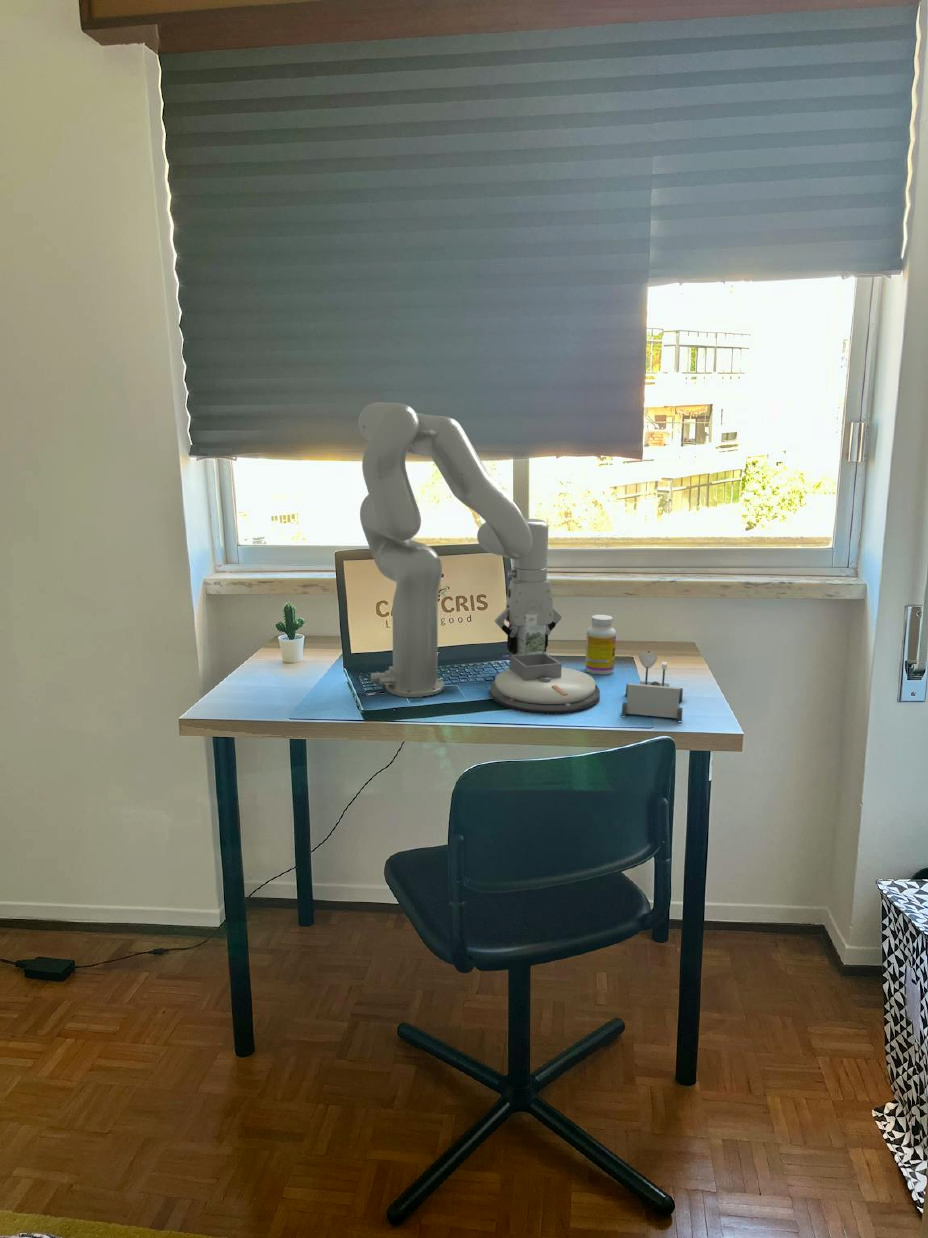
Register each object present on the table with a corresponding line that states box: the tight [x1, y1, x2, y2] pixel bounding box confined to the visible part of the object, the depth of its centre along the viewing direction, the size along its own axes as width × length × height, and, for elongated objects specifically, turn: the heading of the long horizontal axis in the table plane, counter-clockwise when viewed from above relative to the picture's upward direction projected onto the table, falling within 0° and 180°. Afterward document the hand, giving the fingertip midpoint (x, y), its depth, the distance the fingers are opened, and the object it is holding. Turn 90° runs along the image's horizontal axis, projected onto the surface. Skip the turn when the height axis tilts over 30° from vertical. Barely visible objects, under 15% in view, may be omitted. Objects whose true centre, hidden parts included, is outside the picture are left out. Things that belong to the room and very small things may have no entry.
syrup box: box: [509, 614, 546, 657], centre depth 206 cm, size 6×6×14 cm
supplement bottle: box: [584, 614, 617, 676], centre depth 207 cm, size 7×7×13 cm
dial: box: [494, 652, 596, 704], centre depth 190 cm, size 21×21×4 cm
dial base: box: [489, 680, 601, 715], centre depth 191 cm, size 23×23×2 cm
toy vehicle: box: [621, 650, 684, 722], centre depth 185 cm, size 18×10×12 cm
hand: (527, 651), depth 207 cm, fingers closed on syrup box, 6 cm apart
